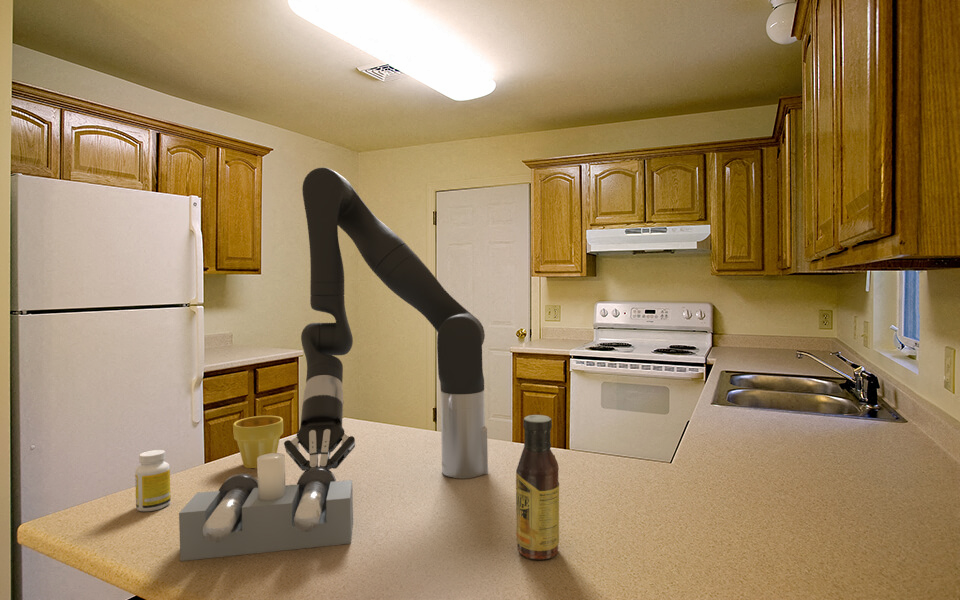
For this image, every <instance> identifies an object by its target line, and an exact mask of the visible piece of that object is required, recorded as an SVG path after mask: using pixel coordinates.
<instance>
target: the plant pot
mask: <svg viewBox="0 0 960 600" xmlns="http://www.w3.org/2000/svg"><path fill="white" fill-rule="evenodd" d="M232 428H233V429H232V431H233V434H232V435H233V439H234V441H236V442H237V446H238V448H239V449H238V450H239V454H240V457H241V461H242V464H243V467H244V468H247V469H251V468H255V469H257V458H258V457H259V456H262V455H265V454H270V453H278V448H279V444H280V438H281V436H282V435H283V434H284V419H283V417H281V416H278V415H277V416H276V415H257V416H251V417H245V418H242V419H238V420H236V421H234V423H232Z"/></svg>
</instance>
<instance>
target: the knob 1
mask: <svg viewBox="0 0 960 600" xmlns="http://www.w3.org/2000/svg"><path fill="white" fill-rule="evenodd" d="M254 488H258V478H256V477H255V476H254V475H251V474H250V473H243V472H241V473H235V474H233V475H231V476H229V477H228V478H226V480H225V481H224V482H223V483H222V484H221V485H220V487H219V489H218V491H221V502H220V503H219V505H218V506H217V507H216V509H215V510H214V512H213V513H212V514H211V516H210V517H209V518H208V520H207V521H206V522H205V524H204V526H203V534H204V536H205V538H206V539H207V540H209V541H211V542H220V541H222V540H224V539H225V538H227V536H228V535H229V533H230V532H231V530H232V528H233V527H234V525H235V523H236V522H237V520H238V518H239V517H240V515H241V513H242V506H243V505H244V503H245V502H246V500H247V498H248V497H249V495H250V493H251V492H252V490H253V489H254Z"/></svg>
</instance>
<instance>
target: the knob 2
mask: <svg viewBox="0 0 960 600" xmlns="http://www.w3.org/2000/svg"><path fill="white" fill-rule="evenodd" d="M333 481H337V479H336V476H335V474H334V473H333V472H332V471H331V469H327V468H324V467H320V466H318V467H312V468H309V469H307V470H306V471H303V472H302V474H301V475H300V476H299V478H298V480H297V483H296V485H297V484H299V500H300V502H299V505H298V508H297V510H296V513H295V516H294V525H295V527H296V528H297V529H298V530H300V531H303V532H309V531H312V530H313V529H315V528H316V527H317V525H318V523H319V520H320V516H321V512H322V508H323V504H324V503H326V499H327V495H328V491H329V487H330V482H333Z"/></svg>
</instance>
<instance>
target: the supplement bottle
mask: <svg viewBox="0 0 960 600" xmlns="http://www.w3.org/2000/svg"><path fill="white" fill-rule="evenodd" d="M138 459H139V464H140V465H138V466H137V467H136V469H135V471H134V473H135V476H134V477H135V479H134V481H135V482H134V483H135V508H136V510H137V511H139V512H153V511H158V510H161V509H164V508H165V507H168V506H169V505H170V504H171V469H170V464H169V463H168V462H166V461H165V460H166V451H165V450H163V449H155V450H154V449H152V450H148V451H145V452H141V453H140V454H139V458H138Z"/></svg>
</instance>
